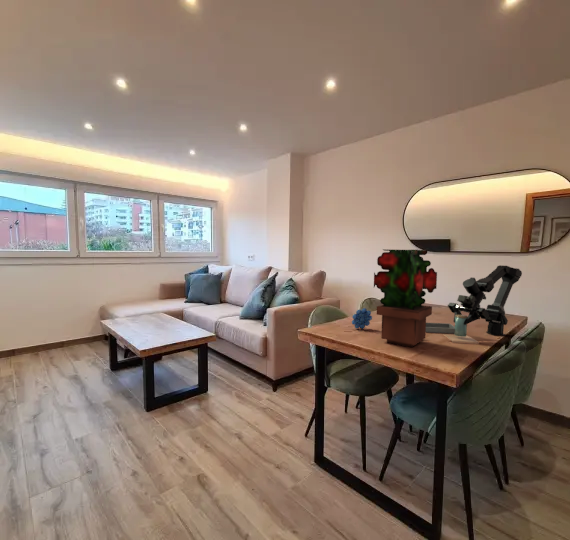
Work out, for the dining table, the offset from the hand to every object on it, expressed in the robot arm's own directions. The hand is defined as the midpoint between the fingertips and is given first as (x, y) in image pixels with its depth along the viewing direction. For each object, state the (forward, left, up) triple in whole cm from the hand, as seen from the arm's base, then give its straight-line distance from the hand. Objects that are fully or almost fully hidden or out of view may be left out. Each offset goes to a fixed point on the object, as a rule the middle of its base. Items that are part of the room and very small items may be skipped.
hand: (459, 323), depth 149 cm
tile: (-1, -1, -9) cm, 9 cm away
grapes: (+43, -23, -9) cm, 49 cm away
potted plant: (+30, +3, -9) cm, 31 cm away
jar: (-1, -1, -6) cm, 6 cm away
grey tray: (+2, -17, -9) cm, 19 cm away
